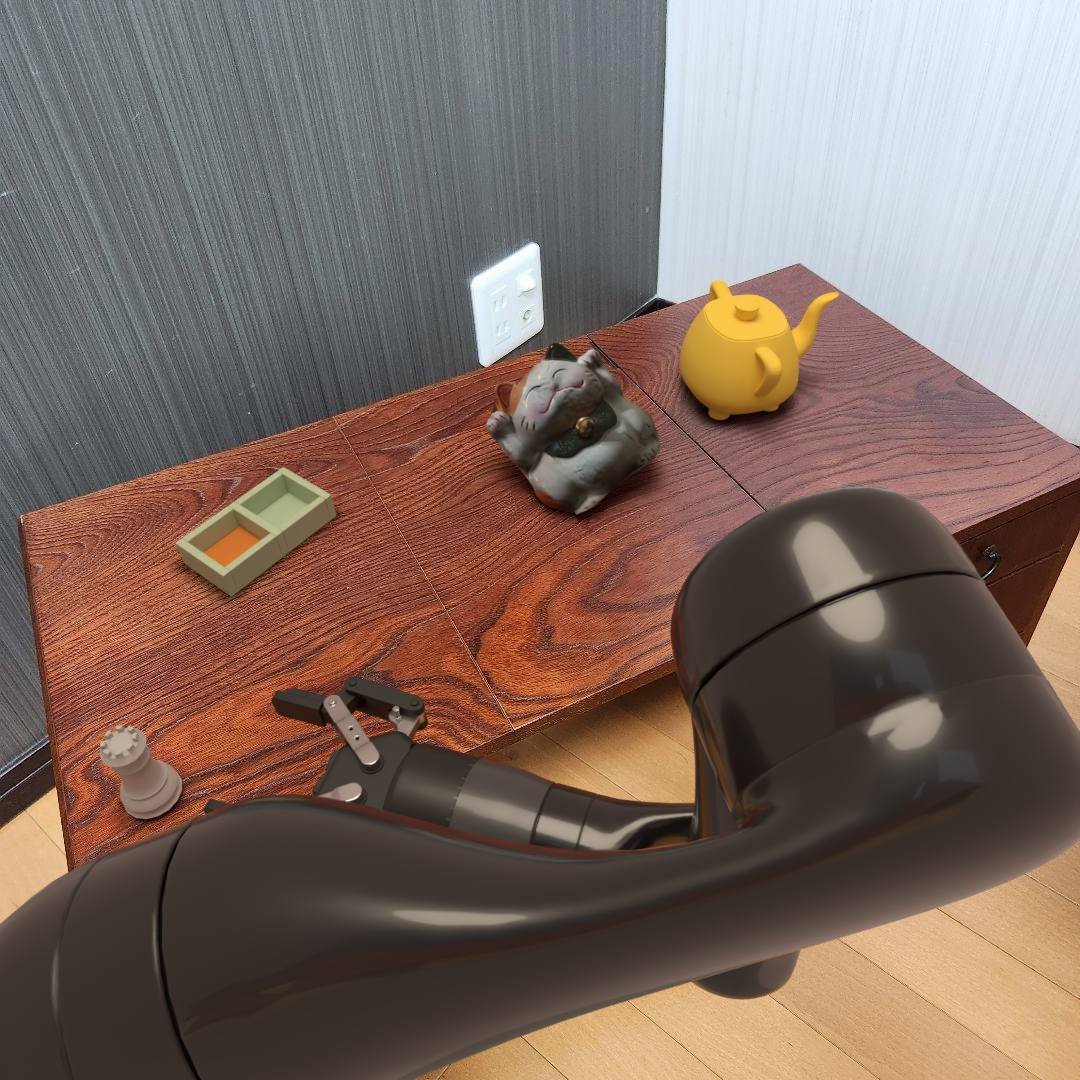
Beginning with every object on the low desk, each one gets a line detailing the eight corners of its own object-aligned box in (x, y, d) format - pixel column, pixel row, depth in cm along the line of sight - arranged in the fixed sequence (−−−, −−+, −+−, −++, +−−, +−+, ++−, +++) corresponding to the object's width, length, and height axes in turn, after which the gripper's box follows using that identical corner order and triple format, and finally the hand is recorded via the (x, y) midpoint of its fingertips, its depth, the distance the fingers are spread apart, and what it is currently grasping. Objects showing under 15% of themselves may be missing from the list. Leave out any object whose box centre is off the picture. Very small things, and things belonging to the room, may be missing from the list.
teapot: (777, 449, 99) (796, 355, 90) (655, 409, 104) (662, 318, 96) (820, 379, 107) (840, 288, 98) (704, 346, 112) (714, 256, 104)
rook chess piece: (195, 792, 72) (162, 736, 67) (146, 833, 70) (107, 779, 64) (163, 759, 74) (128, 702, 69) (113, 798, 72) (73, 743, 66)
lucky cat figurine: (553, 535, 91) (486, 415, 84) (520, 498, 101) (459, 389, 95) (682, 456, 92) (625, 332, 85) (636, 427, 102) (583, 315, 96)
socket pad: (231, 597, 86) (223, 576, 84) (184, 563, 90) (175, 542, 87) (336, 515, 94) (331, 494, 92) (289, 487, 97) (283, 466, 95)
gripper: (506, 693, 60) (282, 637, 64) (419, 903, 50) (163, 822, 54) (513, 754, 65) (306, 699, 69) (435, 955, 56) (202, 878, 60)
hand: (243, 754), depth 62 cm, fingers open, 8 cm apart
